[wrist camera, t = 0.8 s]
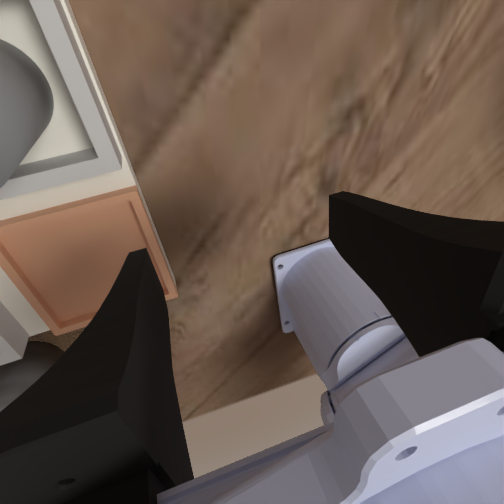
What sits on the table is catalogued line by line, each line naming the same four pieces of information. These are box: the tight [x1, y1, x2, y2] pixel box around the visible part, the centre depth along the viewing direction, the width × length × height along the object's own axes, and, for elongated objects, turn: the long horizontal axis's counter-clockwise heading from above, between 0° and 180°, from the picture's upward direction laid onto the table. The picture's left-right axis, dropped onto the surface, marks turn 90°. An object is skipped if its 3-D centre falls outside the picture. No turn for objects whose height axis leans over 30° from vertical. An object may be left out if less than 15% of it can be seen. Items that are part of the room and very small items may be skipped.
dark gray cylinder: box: [0, 341, 64, 412], centre depth 23 cm, size 4×4×7 cm
